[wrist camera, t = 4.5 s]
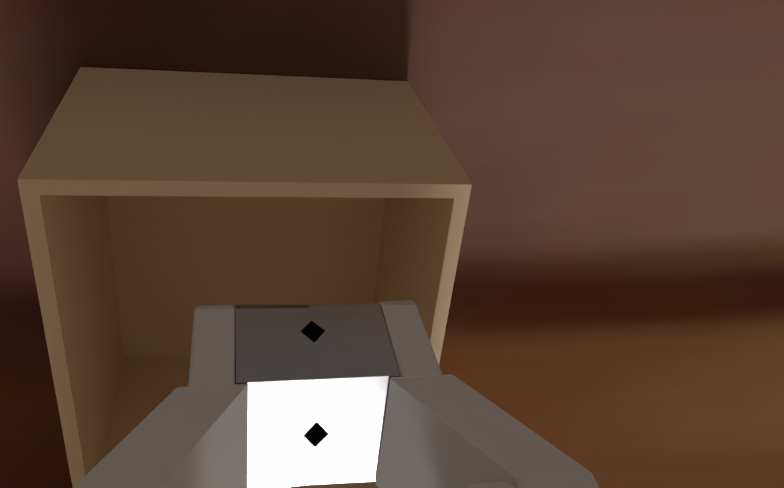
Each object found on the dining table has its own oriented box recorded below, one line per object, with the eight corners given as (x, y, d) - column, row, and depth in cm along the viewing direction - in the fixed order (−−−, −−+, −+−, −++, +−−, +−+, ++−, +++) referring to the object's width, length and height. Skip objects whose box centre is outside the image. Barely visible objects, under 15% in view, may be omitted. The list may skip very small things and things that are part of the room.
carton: (80, 66, 34) (17, 179, 24) (407, 81, 37) (471, 184, 27) (115, 359, 43) (79, 528, 33) (375, 348, 47) (414, 499, 37)
